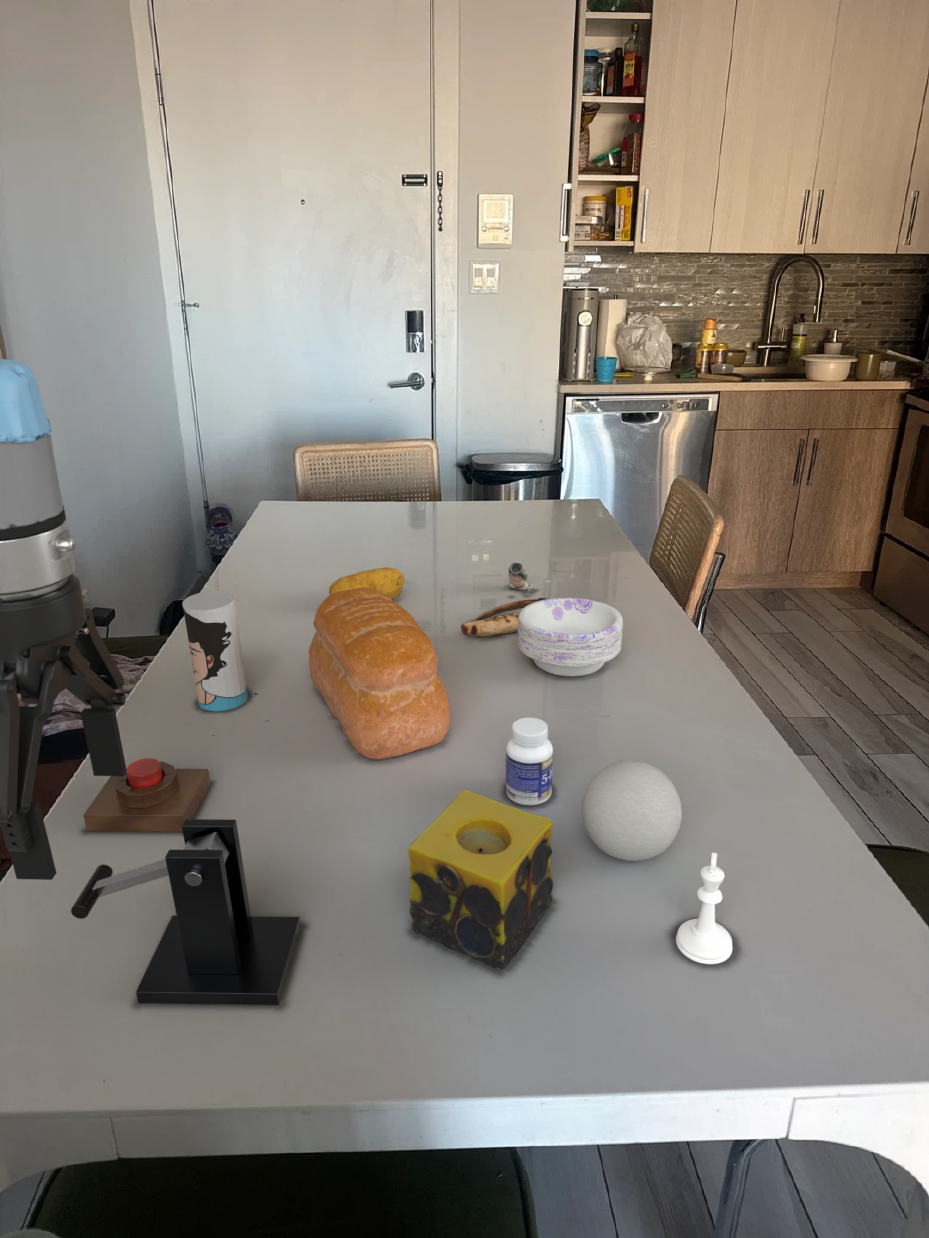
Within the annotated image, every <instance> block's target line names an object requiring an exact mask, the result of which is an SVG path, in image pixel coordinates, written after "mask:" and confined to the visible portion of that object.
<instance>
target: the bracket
mask: <svg viewBox="0 0 929 1238" xmlns="http://www.w3.org/2000/svg"><path fill="white" fill-rule="evenodd" d="M182 831H183V832H182V836H183V841H184V846H185V845H186V843H187V841H189V840H192V839H195V838H198V837H201V836H205V835H208V834H211V833H214V832H217V834H218V836H219V837H220V839H221V840H222V842H223V844H224V845H225V847H226V848H227V850H228V852H229V855H228V857H227V859H226V862H225V863H224V857H223V851H222V850H183V849H169V850H168V851H167V853H166V855H165V856H164V859H166V864H167V869H168V874H169V875H168V879H169V884H170V889H171V894H172V901H173V904H174V910H175V914H176V915H171V917H170V919H169V921H168V924H167V926H166V928H165V929H164V931H163V934H162V936H161V938H160V941H159V942H158V945H157V947H156V948H155V951H154V953H153V954H152V957H151V959H150V961H149V963H148V966H147V968H146V969H145V971H144V974H143V976H142V978H141V980H140V982H139V985H138V986H137V989H136V991H135V995H136V999H137V1003H138V1004H163V1005H165V1004H167V1005H175V1004H176V1005H235V1006H236V1005H237V1006H240V1005H242V1006H243V1005H244V1006H279V1005H280V1001H281V998H282V995H283V991H284V987H285V984H286V980H287V977H288V973H289V971H290V970H289V969H290V967H291V962H292V960H293V956H294V952H295V949H296V945H297V942H298V938H299V934H300V931H301V919H300V916H261V915H260V916H256V915H253V916H252V915H251V909H250V902H249V895H248V889H247V882H246V876H245V869H244V863H243V858H242V857H243V856H242V850H241V844H240V843H241V842H240V838H239V830H238V823H237V819H223V818H222V819H221V818H220V819H213V818H212V819H208V818H207V819H206V818H205V819H204V818H203V819H202V818H201V819H199V818H198V819H197V818H195V819H194V818H193V819H185V821H184V823H183V825H182Z"/></svg>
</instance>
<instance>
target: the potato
mask: <svg viewBox="0 0 929 1238" xmlns="http://www.w3.org/2000/svg"><path fill="white" fill-rule="evenodd" d="M405 582H406V580H405V577H404V574H403V573H402V572H401V571H400V570H399V569H396V568H393V567H389V566H387V567H385V566H384V567H380V568H373V569H367V570H362V571H359V572H356V573H353V574H348V575H346V576H343V577H339V578H338V579H336V580H335V581H334V582H332V583H331V584H330V586H329V589H328V594H329V595H331V594H333V593H336V592H339V591H344V590H351V589H356V588H362V587H366V588H373V589H377V590H379V591H381V592H382V593H384V594H385V595H387V596H388V597H390V598H391V600H392V601H394V599H396V598H397V597H398V596H399V595H401V593H402V591H403V587H404V585H405Z"/></svg>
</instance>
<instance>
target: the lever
mask: <svg viewBox="0 0 929 1238" xmlns="http://www.w3.org/2000/svg"><path fill="white" fill-rule="evenodd" d="M182 850H222V851H223V857H224V863H225V862H226V859H227V857H228V855H229V852H228V850H227V848H226V847H225V845H224V844H223V842H222V840H221V839H220V837H219V836H218V834H217V832H214V833H211V834H208V835H205V836H201V837H198V838H195V839H192V840H189V841H187V843H186V845H185V844H184V847H183V849H182ZM113 874H114V870H113V868H112V867H111V866H110V865H108V864H104V863H103V864H100V865H98V866H97V867H96V869H95V870H94V872H93V874H92V875H91V877H90V878H89V880H88V882H87V883H86V885H85V886H84V888H83V889H82V890H81V892H80V894H79V896H78V897H77V898H76V900H75V902H74V903H73V905H72V907H71V909H70V913H71V915H72V916H73V917H74V918H76V919H79V920H82V919H86V918H87V917H88V916H89V915H90V913H91V911H92V909H93V907H94V906H95V904H96V903H97V901H98V899H99V898H102V897H104V896H107V895H111V894H114V893H117V892H120V891H123V890H124V891H125V890H127V889H130V888H132V887H136V886H140V885H142V884H143V885H144V884H147V883H149V882H152V881H156V880H159V879H162V878H164V877H167V876H168V877H169V874H168V869H167V864H166V859H165V858H164V859H161V860H158V861H155V862H152V863H149V864H146V865H142V866H139V867H136V868H133V869H130V870H127V871H124V872H120V873H117V874H114V875H113Z"/></svg>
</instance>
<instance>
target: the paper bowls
mask: <svg viewBox="0 0 929 1238" xmlns="http://www.w3.org/2000/svg"><path fill="white" fill-rule="evenodd" d="M518 613H519V617H518V621H519V624H518V631H517V646H518V648H519V650H520V651H521V652H522V653H523V654H524V655H525V656H527V657H529V658H530V659H532V660H533V662H534V663H535V665H536V666H537V667H538V668H540V669H541V670H543V671H544V672H546V673H549V674H551V675H556V676H560V677H571V678H572V677H584V676H588V675H592V674H594V673H595V672H597V671H599V670H600V669H601V668H603V666H604V665H605V663H606V662H609V661H612V660H613V659H614V658H616V657H617V656H618V655H619V654H620V652H621V650H622V641H623V628H624V620H623V619H624V618H623V616H622V614H621V613H620V611H618V609H616V608H615V607H613V606H611V605H609V604H606V603H604V602H601V601H597V600H593V599H589V598H588V599H587V598H581V597H552V598H547V599H546V600H541V601H537V602H534V603H531V604H529V605H527V606H526V607H524V608H521V609H520V611H519V612H518Z"/></svg>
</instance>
